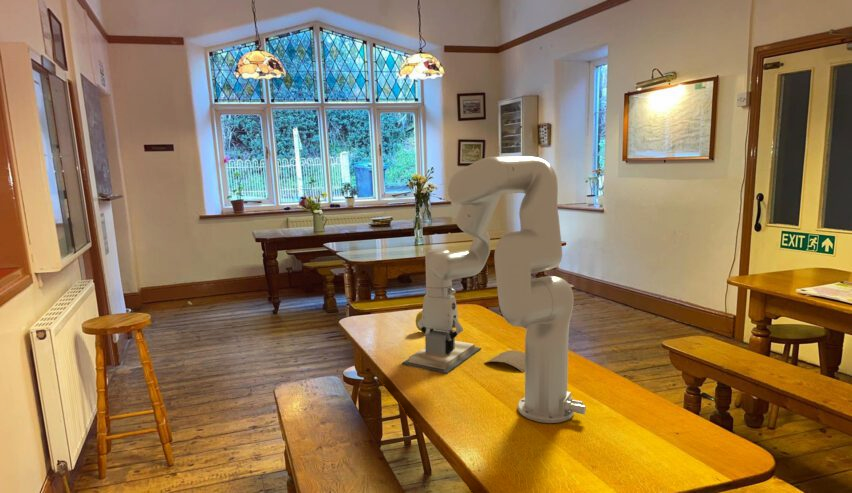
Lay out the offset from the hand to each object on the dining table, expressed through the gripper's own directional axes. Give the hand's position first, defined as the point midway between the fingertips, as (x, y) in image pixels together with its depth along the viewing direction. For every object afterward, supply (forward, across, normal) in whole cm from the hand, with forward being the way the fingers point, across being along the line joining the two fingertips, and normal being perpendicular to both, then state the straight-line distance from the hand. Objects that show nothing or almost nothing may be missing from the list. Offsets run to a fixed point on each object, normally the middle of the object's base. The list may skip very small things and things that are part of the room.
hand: (440, 350), depth 153 cm
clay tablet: (+3, -20, -6) cm, 21 cm away
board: (+3, 0, -2) cm, 3 cm away
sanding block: (+1, 0, 0) cm, 1 cm away
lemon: (+3, +17, -19) cm, 25 cm away
